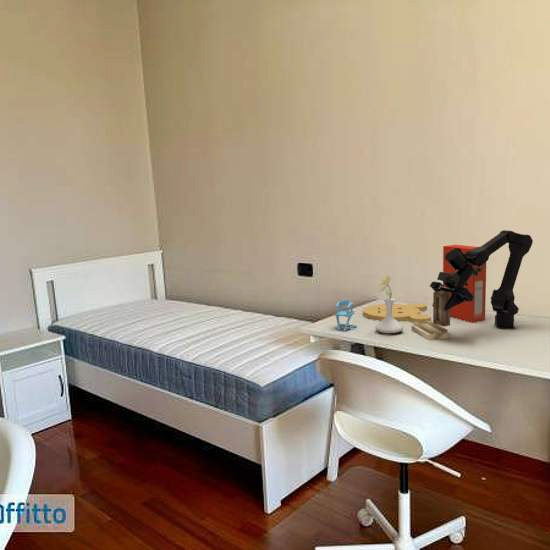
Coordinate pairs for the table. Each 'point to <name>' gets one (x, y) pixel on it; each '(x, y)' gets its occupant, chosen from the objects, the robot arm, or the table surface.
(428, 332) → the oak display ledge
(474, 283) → the file binder
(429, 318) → the decorative plaque
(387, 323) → the flower in vase
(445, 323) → the walnut photo frame
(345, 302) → the chair
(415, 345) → the table surface
